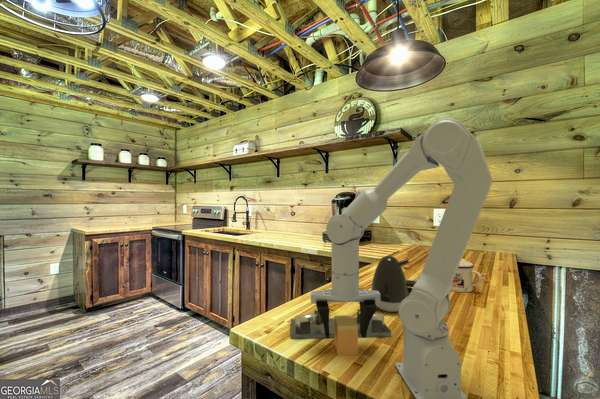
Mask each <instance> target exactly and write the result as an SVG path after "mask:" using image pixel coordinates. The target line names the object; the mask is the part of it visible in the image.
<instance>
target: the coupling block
mask: <svg viewBox="0 0 600 399" xmlns="http://www.w3.org/2000/svg"><path fill="white" fill-rule="evenodd" d="M333 318H334V338H333V342H334V343H333V344H334V347H335V349H336V350H335V351H336V354H337V356H339V357H340V356H358V354H359V353H358V352H359V350H358V349H359V347H358V346H359V345H358V343H359V342H358V341H359V339H358V338H359V337H358V325H357V323H356V322H355V320H354V318H355V317H354V315H352V314H351V315H350V314H349V315H348V314H347V315H346V314H343V315H334V316H333Z"/></svg>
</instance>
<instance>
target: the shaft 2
mask: <svg viewBox="0 0 600 399" xmlns="http://www.w3.org/2000/svg"><path fill="white" fill-rule="evenodd" d="M356 318H357V324H360V308H357V313H356ZM384 323H385V314H384V313H378V312H375V313H374V315H373V317H372V319H371V321H370V324H372V332H376V333H383V325H384Z"/></svg>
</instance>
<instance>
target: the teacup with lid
mask: <svg viewBox="0 0 600 399" xmlns="http://www.w3.org/2000/svg"><path fill="white" fill-rule="evenodd" d="M474 274H475V275H477V276H478V281H477V282H476V283H474V280H473V279H474V278H473V277H474ZM482 281H483V276H482V274H481V273H480V272H479V271H477V270H474V264H473V263H472V262H470V261H469V260H466V259H464V258H462V259H461V262H460V264H459V266H458V269H457V271H456V274H455V276H454V279H453V281H452V288H451V290H450V291H452V292H456V293H457V292H458V293H471V292H473V291H474V286H476V287H477V286H479V285H480V284H481V283H482Z"/></svg>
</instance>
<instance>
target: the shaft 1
mask: <svg viewBox="0 0 600 399" xmlns="http://www.w3.org/2000/svg"><path fill="white" fill-rule="evenodd" d="M294 319H295V323H296V330H297V331H298V333H299V334H300V335H304V334H309V333H310V325H311V324H316V325H321V324H323V321H322V319H321V316H320V314H319V312H318V309H317V310H314V312H309V313H305V314H300V315H295V316H294Z"/></svg>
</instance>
